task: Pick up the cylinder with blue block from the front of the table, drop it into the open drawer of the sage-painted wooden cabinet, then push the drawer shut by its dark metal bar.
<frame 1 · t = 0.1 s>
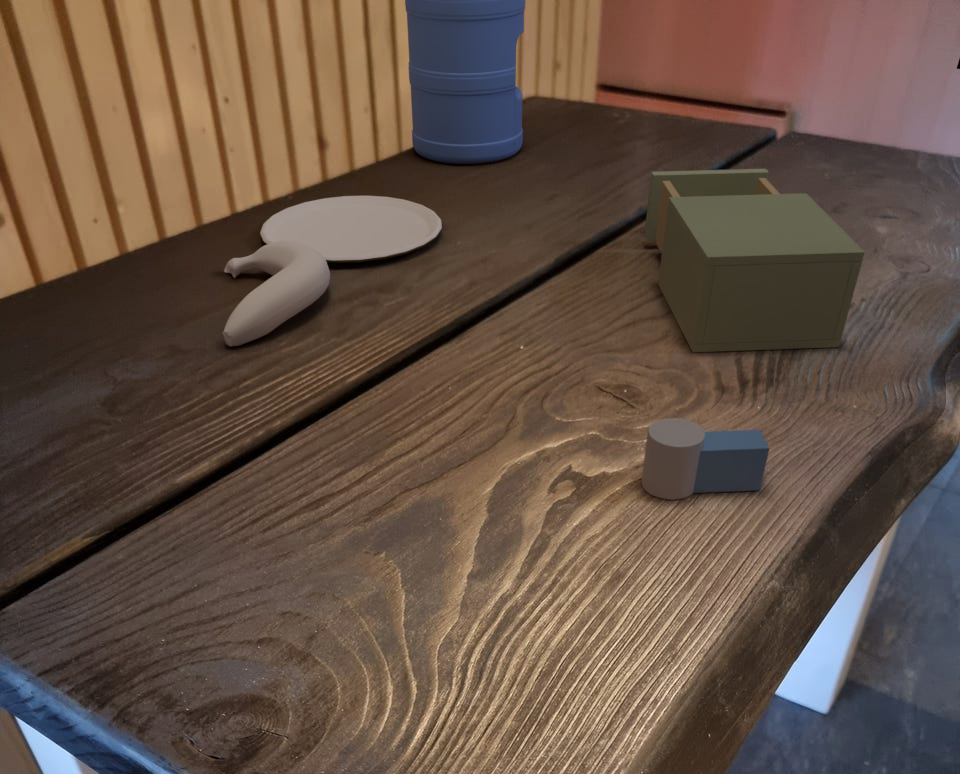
cylinder with blue block: (715, 482, 68), on the table
plate: (352, 237, 107), on the table
drawer: (715, 219, 97), point 4 cm above the table, slide at 10.0 cm
cabinet: (743, 314, 90), on the table
banana: (255, 307, 93), on the table
water jug: (467, 151, 132), on the table
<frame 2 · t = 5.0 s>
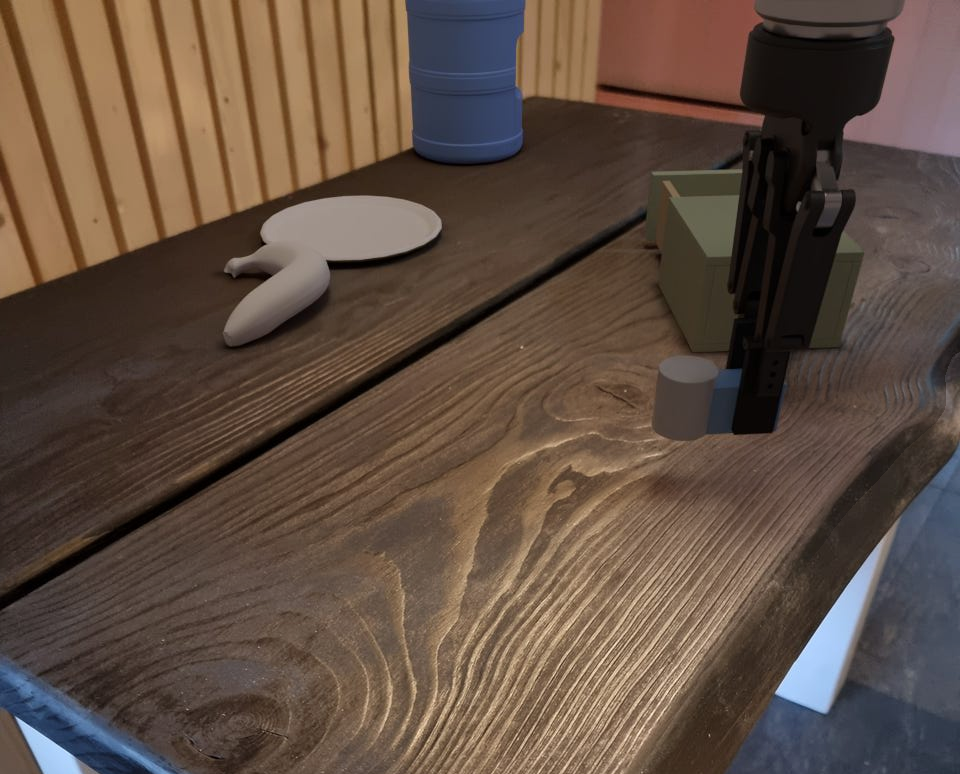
hand: (745, 418, 65), 5 cm above the table, tool pointing down, fingers closed on cylinder with blue block, 3 cm apart
cylinder with blue block: (729, 424, 65), point 5 cm above the table, touching gripper
everything else where it was.
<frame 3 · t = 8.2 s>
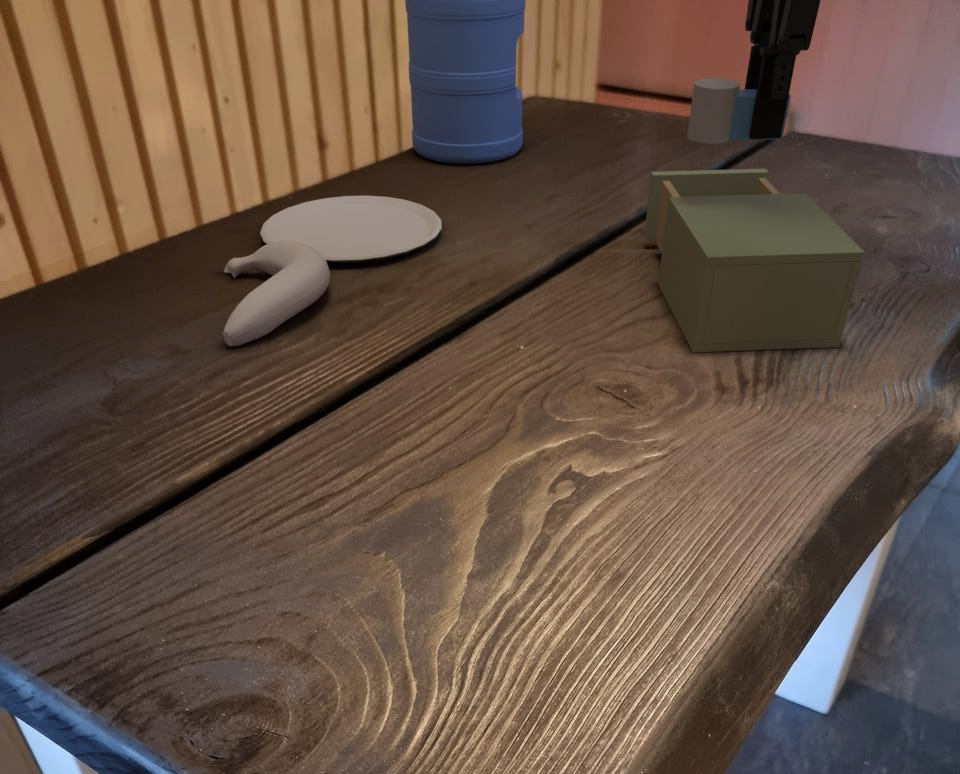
hand: (759, 131, 85), 14 cm above the table, tool pointing down, fingers closed on cylinder with blue block, 3 cm apart
cylinder with blue block: (746, 136, 85), point 14 cm above the table, touching gripper
everything else where it was.
when the fingers open (4 cm above the table, at t = 11.6 s): cylinder with blue block drops 2 cm, resting on drawer.
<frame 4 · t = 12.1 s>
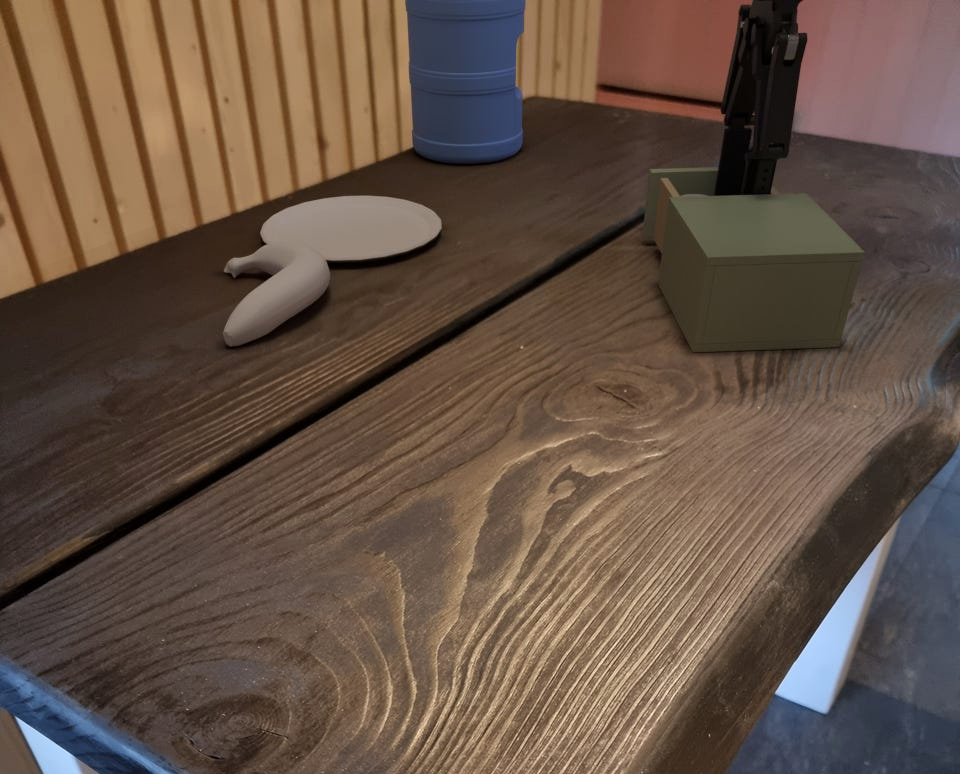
hand: (738, 210, 97), 5 cm above the table, tool pointing down, fingers open, 8 cm apart
cylinder with blue block: (722, 242, 99), point 2 cm above the table, touching drawer
drawer: (712, 216, 98), point 4 cm above the table, slide at 11.0 cm, touching cylinder with blue block
everything else where it was.
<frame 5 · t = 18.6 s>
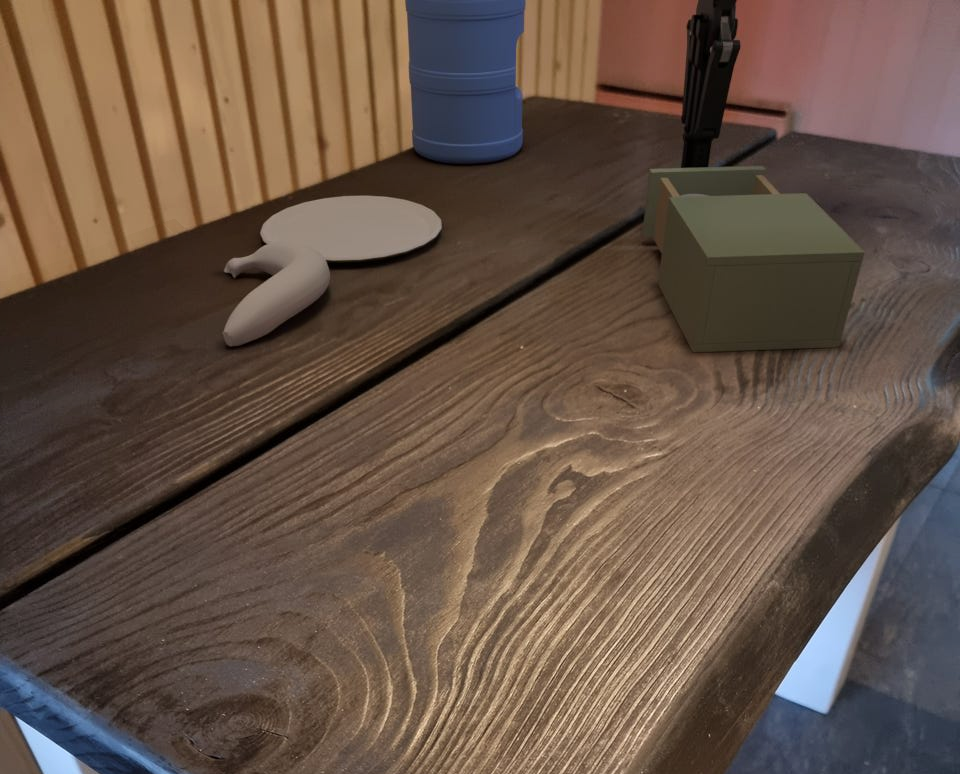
hand: (689, 200, 106), 3 cm above the table, tool pointing down, fingers closed
drawer: (712, 216, 98), point 4 cm above the table, slide at 11.0 cm, touching cylinder with blue block, gripper
everything else where it was.
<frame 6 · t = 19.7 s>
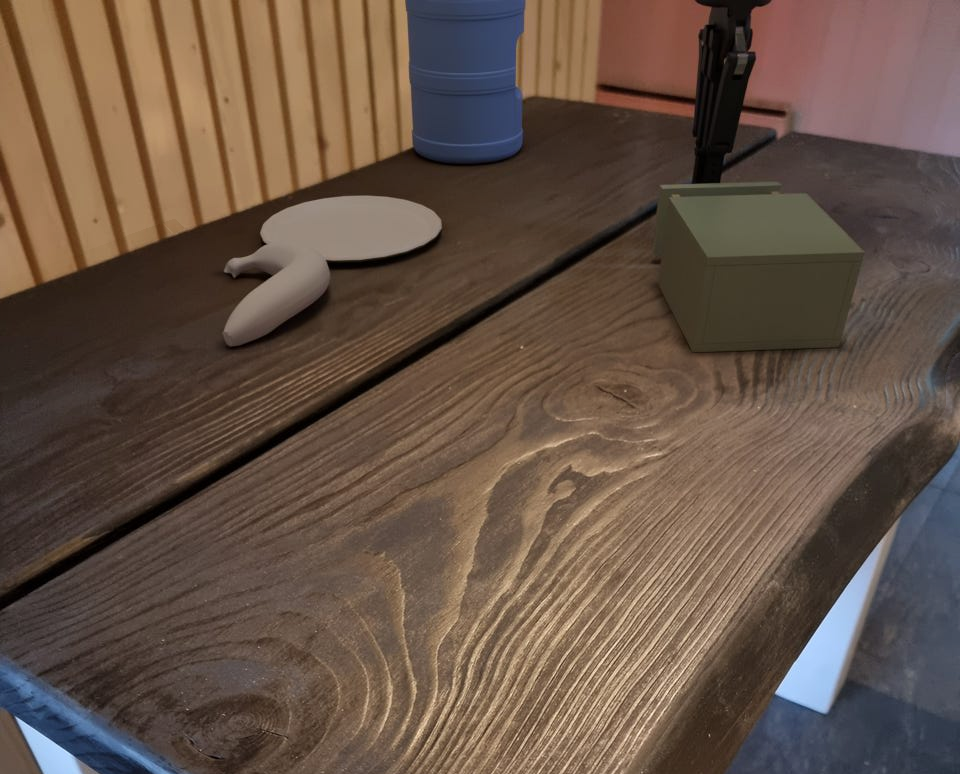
hand: (701, 216, 102), 3 cm above the table, tool pointing down, fingers closed
cylinder with blue block: (736, 261, 95), point 2 cm above the table, touching drawer
drawer: (725, 234, 94), point 4 cm above the table, slide at 5.6 cm, touching cylinder with blue block, gripper
everything else where it was.
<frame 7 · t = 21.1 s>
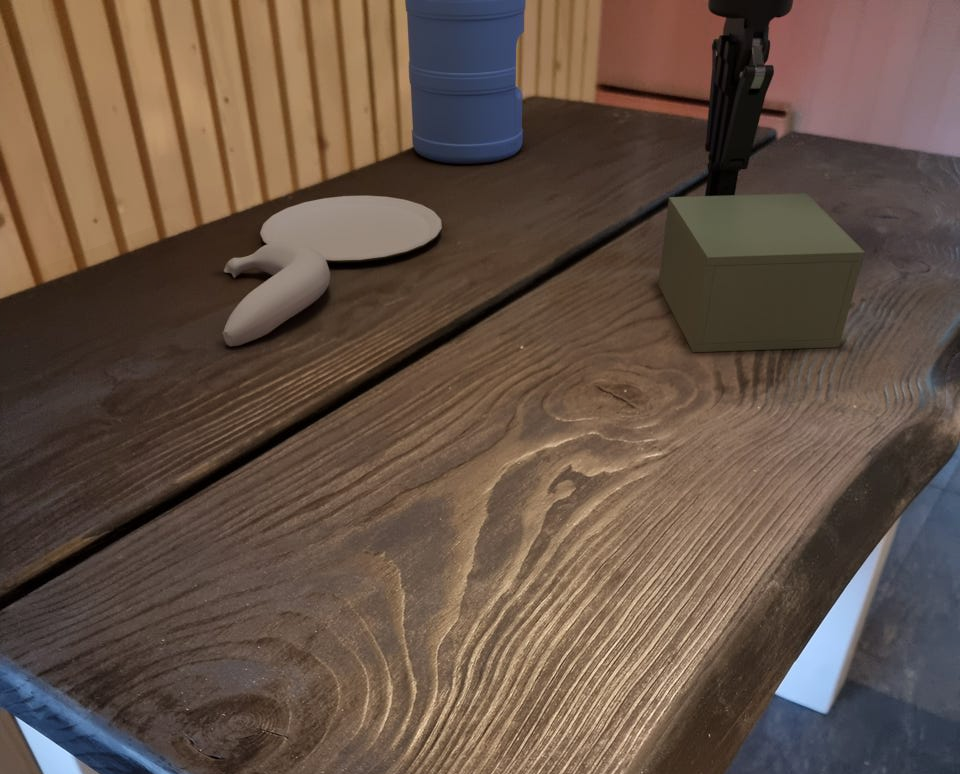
hand: (713, 233, 98), 3 cm above the table, tool pointing down, fingers closed
cylinder with blue block: (751, 282, 91), point 2 cm above the table, touching drawer
drawer: (740, 254, 90), point 4 cm above the table, slide at 0.0 cm, touching cabinet, cylinder with blue block, gripper
everything else where it was.
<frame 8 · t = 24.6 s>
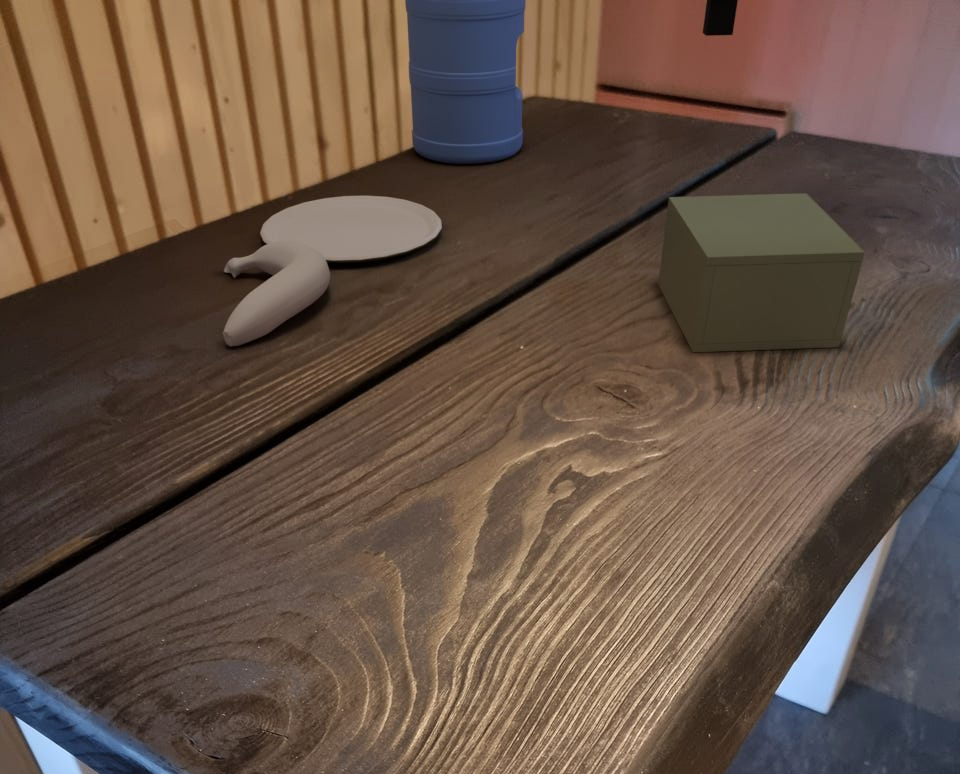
hand: (717, 33, 94), 19 cm above the table, tool pointing down, fingers closed
drawer: (740, 254, 90), point 4 cm above the table, slide at 0.0 cm, touching cylinder with blue block
everything else where it was.
at the end: cylinder with blue block inside the target area in the cabinet (2.1 cm from its centre), point 2.0 cm above the cabinet's base; drawer slide at 0.0 cm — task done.
